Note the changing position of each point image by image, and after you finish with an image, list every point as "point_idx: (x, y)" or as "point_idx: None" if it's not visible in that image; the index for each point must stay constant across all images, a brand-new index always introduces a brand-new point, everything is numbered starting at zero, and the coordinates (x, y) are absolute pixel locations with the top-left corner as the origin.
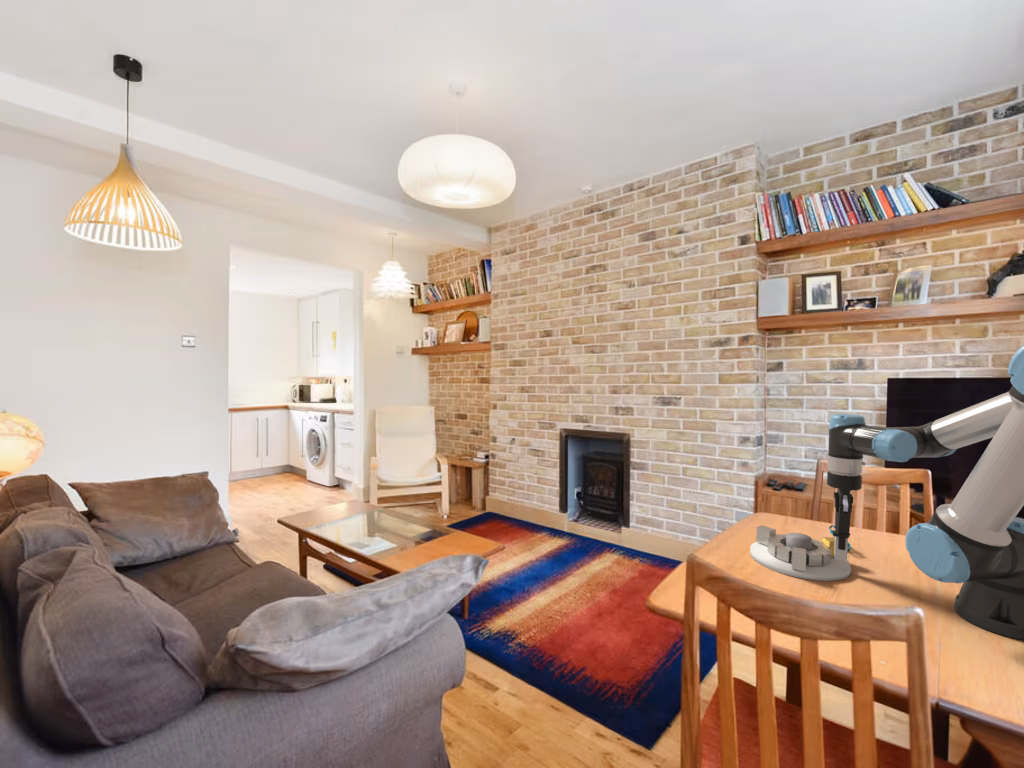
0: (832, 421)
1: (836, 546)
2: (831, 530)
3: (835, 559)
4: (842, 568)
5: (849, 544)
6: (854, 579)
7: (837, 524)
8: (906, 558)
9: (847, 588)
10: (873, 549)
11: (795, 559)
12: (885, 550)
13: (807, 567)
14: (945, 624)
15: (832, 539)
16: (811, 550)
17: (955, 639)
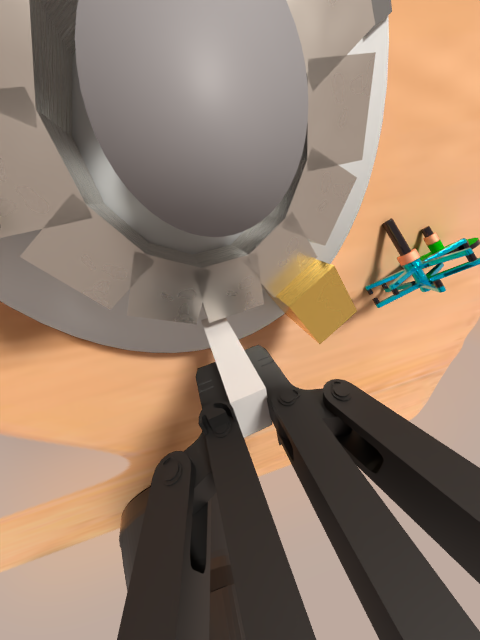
0: None
1: (215, 359)
2: (452, 257)
3: (202, 323)
4: (186, 335)
5: (379, 305)
6: (170, 355)
7: (228, 550)
8: (370, 368)
9: (66, 369)
10: (399, 321)
11: None
12: (399, 336)
13: None
14: (78, 500)
15: (322, 308)
16: None
17: (16, 530)
